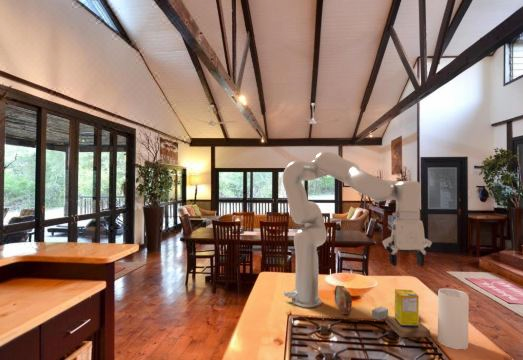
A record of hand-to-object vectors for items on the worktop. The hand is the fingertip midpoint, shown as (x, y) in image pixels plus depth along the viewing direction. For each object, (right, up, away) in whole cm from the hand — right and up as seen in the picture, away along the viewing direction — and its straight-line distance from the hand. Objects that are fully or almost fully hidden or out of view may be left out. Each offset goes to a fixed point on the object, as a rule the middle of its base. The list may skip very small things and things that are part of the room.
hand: (406, 265), depth 106 cm
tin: (-18, -22, +15) cm, 33 cm away
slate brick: (-6, -22, +9) cm, 25 cm away
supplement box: (0, -21, 0) cm, 21 cm away
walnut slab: (0, -22, 0) cm, 22 cm away
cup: (+11, -23, -9) cm, 26 cm away
